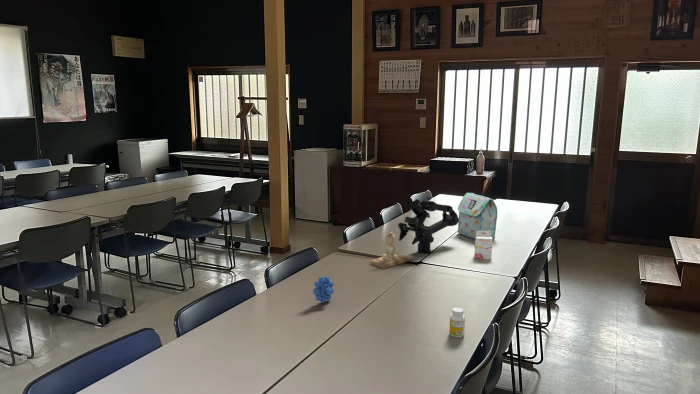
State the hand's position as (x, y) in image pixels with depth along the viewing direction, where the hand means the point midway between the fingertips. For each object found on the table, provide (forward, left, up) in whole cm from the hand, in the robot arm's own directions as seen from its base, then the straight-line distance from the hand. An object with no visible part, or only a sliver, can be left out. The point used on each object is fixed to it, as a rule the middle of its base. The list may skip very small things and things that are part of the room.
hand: (405, 242), depth 275 cm
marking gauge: (+7, +10, -6) cm, 14 cm away
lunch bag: (-38, -53, -9) cm, 66 cm away
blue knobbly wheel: (+26, +71, -9) cm, 76 cm away
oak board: (+7, +10, -8) cm, 15 cm away
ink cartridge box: (-41, -9, -9) cm, 43 cm away
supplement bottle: (-29, +88, -9) cm, 93 cm away
